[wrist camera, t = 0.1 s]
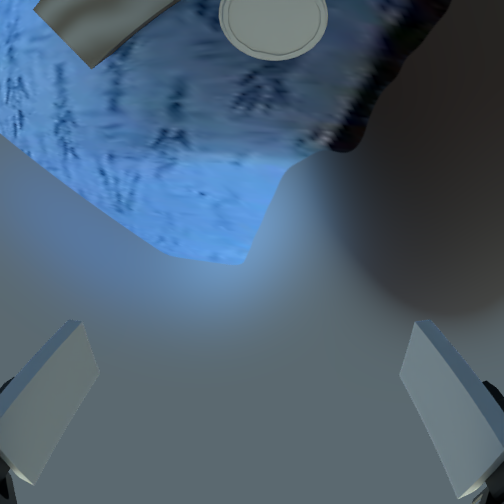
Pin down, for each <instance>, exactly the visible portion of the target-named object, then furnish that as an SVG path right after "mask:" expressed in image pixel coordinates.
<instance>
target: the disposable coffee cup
mask: <svg viewBox="0 0 504 504" xmlns="http://www.w3.org/2000/svg"><path fill="white" fill-rule="evenodd" d="M219 20H220V25H221V28H222V30H223V32H224V34H225V36H226V37H227V38H228V40H229V41H230V42H231V43H232V44H233V45H234V46H235V47H236V48H238V49H239V50H240V51H242V52H244V53H246V54H247V55H250V56H252V57H255V58H259V59H263V60H273V61H276V60H286V59H290V58H294V57H297V56H299V55H301V54H304V53H305V52H307V51H308V50H310V49H311V48H313V47H314V46H315V45H316V44H317V42H318V41H319V40H320V39H321V37H322V36H323V34H324V32H325V29H326V26H327V21H328V11H327V6H326V3H325V0H221V3H220V7H219Z"/></svg>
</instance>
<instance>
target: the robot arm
mask: <svg viewBox="0 0 504 504" xmlns="http://www.w3.org/2000/svg"><path fill="white" fill-rule="evenodd" d="M99 374H100V371H99V369H98V366H97V363H96V361H95V358H94V356H93V353H92V349H91V347H90V344H89V340H88V337H87V335H86V331H85V328H84V325H83V322H82V321H74V320H68V321H67V322H66V323H65V324H64V325H63V326H62V327H61V328H60V329H59V330H58V331H57V332H56V333H55V334H54V335H53V336H52V337H51V338H50V339H49V340H48V341H47V342H46V344H45V345H44V346H43V347H42V348H41V349H40V350H39V351H38V352H37V353H36V354H35V355H34V356H33V357H32V359H31V360H30V361H29V362H28V363H27V364H26V365H25V366H24V368H22V370H21V371H20V372H19V373H18V374H17V375H16V376H15V377H13V378H12V379H10V380H9V381H7V382H6V383H4V384H3V386H2V387H1V388H0V504H17V501H16V496H15V492H14V487H13V481H12V478H11V475H10V474H9V473H8V471H9V469H10V468H11V469H12V470H13V471H14V472H15V473H16V474H17V475H18V476H19V477H20V478H21V479H23V480H25V481H27V482H29V483H30V484H32V485H35V483H36V481H37V480H38V478H39V476H40V474H41V472H42V470H43V468H44V467H45V465H46V463H47V461H48V459H49V457H50V455H51V453H52V452H53V450H54V448H55V446H56V445H57V443H58V441H59V440H60V438H61V436H62V434H63V433H64V431H65V429H66V428H67V426H68V424H69V422H70V421H71V419H72V418H73V416H74V414H75V413H76V411H77V409H78V408H79V406H80V404H81V403H82V401H83V399H84V398H85V396H86V395H87V393H88V391H89V390H90V388H91V387H92V385H93V383H94V382H95V380H96V379H97V377H98V376H99ZM399 376H400V378H401V380H402V382H403V383H404V385H405V387H406V389H407V391H408V393H409V395H410V397H411V399H412V401H413V403H414V405H415V407H416V409H417V411H418V413H419V415H420V417H421V419H422V421H423V423H424V425H425V427H426V429H427V431H428V433H429V435H430V437H431V440H432V442H433V444H434V446H435V448H436V450H437V452H438V455H439V457H440V459H441V461H442V464H443V466H444V468H445V471H446V473H447V475H448V478H449V480H450V482H451V485H452V487H453V489H454V492H455V494H456V497H457V499H459V498H461V497H463V496H465V495H468V494H470V493H471V492H474V491H476V490H477V489H478V488H479V487H480V486H481V485H482V484H483V483H484V482H486V484H487V487H486V488H485V489H484V490H483V491H482V492H481V493H480V494H479V495H478V496H476V497H475V498H474V500H473V502H472V504H475V503H476V502H477V501H478V500H479V499H480V498H481V497H482V498H481V501H480V502H479V503H478V504H504V397H503V395H502V394H501V393H500V392H499V390H498V389H497V388H496V387H495V386H493V385H492V384H490V383H489V382H488V381H484V382H481V380H480V379H479V378H478V377H477V375H476V374H475V373H474V372H473V370H472V369H471V368H470V366H469V365H468V364H467V363H466V361H465V360H464V359H463V358H462V356H461V355H460V354H459V353H458V351H457V350H456V349H455V348H454V347H453V345H452V344H451V343H450V342H449V341H448V339H447V338H446V337H445V336H444V335H443V334H442V332H441V331H440V330H439V329H438V328H437V327H436V326H435V324H434V323H433V322H432V321H431V320H423V321H415V323H414V327H413V331H412V334H411V338H410V341H409V345H408V348H407V352H406V355H405V358H404V361H403V365H402V368H401V371H400V374H399Z"/></svg>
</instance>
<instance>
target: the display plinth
mask: <svg viewBox="0 0 504 504" xmlns="http://www.w3.org/2000/svg"><path fill="white" fill-rule="evenodd" d="M179 1H180V0H40V1H39V3H38V4H37V5H36V7H35V8H34V9H33V10H34V11H35V12H36V13H37V14H38V15H39V16H40V17H41V18H42V19H43V20H44V21H45V22H46V23H47V24H48V25H49V26H50V27H51V28H52V29H53V30H54V31H55V32H56V33H57V34H58V35H59V37H60V38H61V39H62V40H63V41H64V42H65V43H66V44H67V45H68V46H69V47H70V48H71V49H72V50H73V51H74V52H75V53H76V54H77V55H78V56H79V57H80V58H81V59H82V60H83V61H84V62H85V63H86V64H87V65H88V66H89V67H90V68H91V69H93V68H94V67H95V66H96V65H98V64H99V63H100V62H102V61H103V60H104V59H106V58H107V57H108V56H110V55H111V54H112V53H113V52H114V51H116V50H117V49H118V48H119V47H120V46H121V45H122V44H123V43H125V42H126V41H127V40H128V39H129V38H131V37H132V36H133V35H134V34H135V33H137V32H138V31H139V30H140V29H142V28H143V27H144V26H145V25H147V24H148V23H149V22H151V21H152V20H153V19H155V18H156V17H157V16H159V15H160V14H161V13H163V12H164V11H166V10H167V9H168V8H170V7H171V6H173V5H174V4H176V3H177V2H179Z"/></svg>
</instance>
